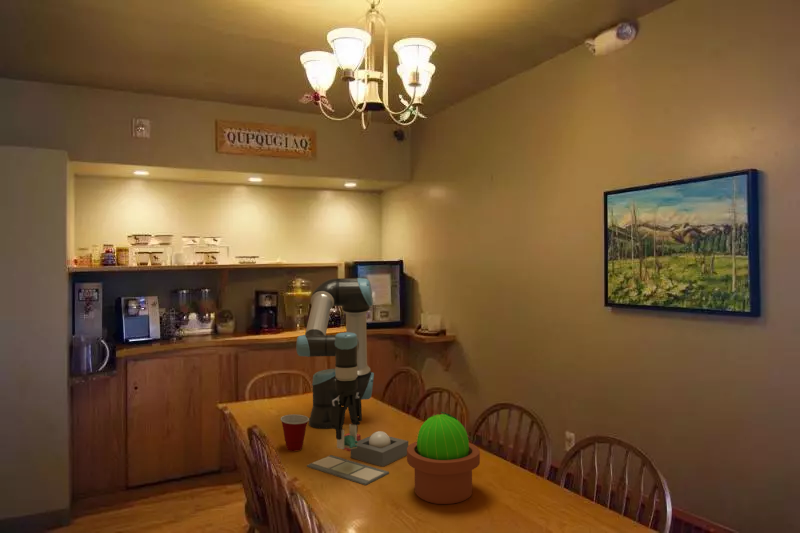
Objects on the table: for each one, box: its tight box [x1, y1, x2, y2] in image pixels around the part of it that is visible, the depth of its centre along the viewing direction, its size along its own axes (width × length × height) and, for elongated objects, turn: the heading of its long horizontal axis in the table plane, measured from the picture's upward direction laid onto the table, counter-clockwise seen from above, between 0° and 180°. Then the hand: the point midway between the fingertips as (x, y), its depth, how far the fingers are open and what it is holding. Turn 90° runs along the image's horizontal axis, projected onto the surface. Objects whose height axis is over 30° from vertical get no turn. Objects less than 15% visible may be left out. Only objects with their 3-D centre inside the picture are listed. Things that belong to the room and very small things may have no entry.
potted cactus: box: [406, 411, 481, 505], centre depth 175 cm, size 22×22×25 cm
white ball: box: [369, 430, 391, 449], centre depth 207 cm, size 8×8×8 cm
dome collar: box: [350, 435, 409, 467], centre depth 207 cm, size 15×15×5 cm
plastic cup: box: [280, 413, 310, 452], centre depth 216 cm, size 11×11×12 cm
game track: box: [306, 454, 390, 486], centre depth 194 cm, size 12×27×1 cm, turn 53°
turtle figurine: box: [344, 435, 358, 449], centre depth 193 cm, size 6×7×4 cm
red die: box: [343, 432, 362, 452], centre depth 216 cm, size 5×5×5 cm
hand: (347, 445), depth 194 cm, fingers closed on turtle figurine, 6 cm apart
